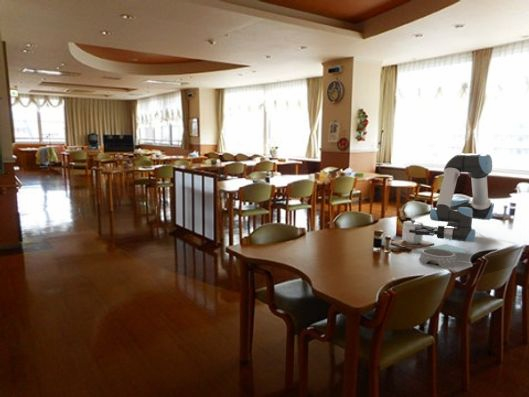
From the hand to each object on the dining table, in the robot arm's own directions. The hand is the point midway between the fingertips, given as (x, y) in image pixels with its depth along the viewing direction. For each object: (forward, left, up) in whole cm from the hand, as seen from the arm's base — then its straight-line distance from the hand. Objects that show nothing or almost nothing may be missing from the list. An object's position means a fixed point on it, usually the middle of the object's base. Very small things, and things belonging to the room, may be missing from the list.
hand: (406, 228), depth 235 cm
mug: (-16, -14, -10) cm, 23 cm away
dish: (-2, +3, -9) cm, 9 cm away
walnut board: (-2, +3, -10) cm, 11 cm away
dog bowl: (+12, +33, -11) cm, 37 cm away
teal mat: (-12, +21, -10) cm, 27 cm away
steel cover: (-2, +3, -7) cm, 8 cm away
